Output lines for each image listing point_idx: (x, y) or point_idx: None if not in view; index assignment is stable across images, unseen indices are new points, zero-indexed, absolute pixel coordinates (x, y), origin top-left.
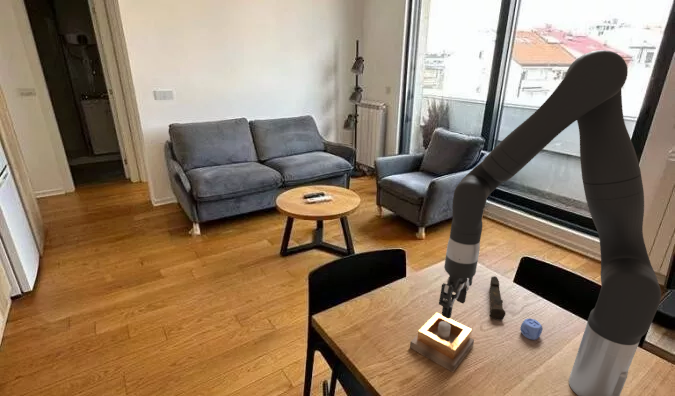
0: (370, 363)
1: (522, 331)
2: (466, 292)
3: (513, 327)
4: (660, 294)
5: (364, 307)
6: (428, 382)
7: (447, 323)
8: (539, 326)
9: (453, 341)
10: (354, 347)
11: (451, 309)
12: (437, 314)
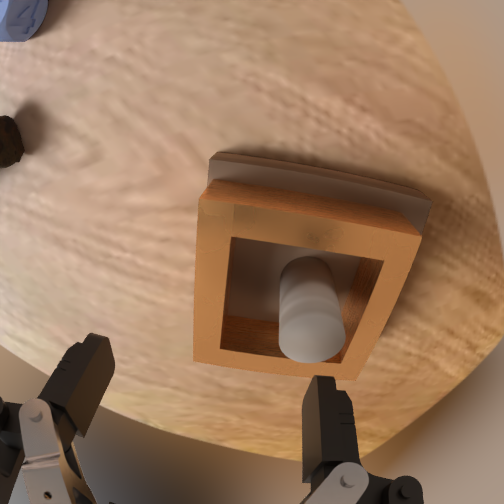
0: (445, 376)
1: (30, 30)
2: (55, 394)
3: (22, 70)
4: None
5: (260, 442)
6: (478, 249)
7: (290, 335)
8: None
9: None
10: (406, 412)
11: (332, 437)
12: (205, 357)
